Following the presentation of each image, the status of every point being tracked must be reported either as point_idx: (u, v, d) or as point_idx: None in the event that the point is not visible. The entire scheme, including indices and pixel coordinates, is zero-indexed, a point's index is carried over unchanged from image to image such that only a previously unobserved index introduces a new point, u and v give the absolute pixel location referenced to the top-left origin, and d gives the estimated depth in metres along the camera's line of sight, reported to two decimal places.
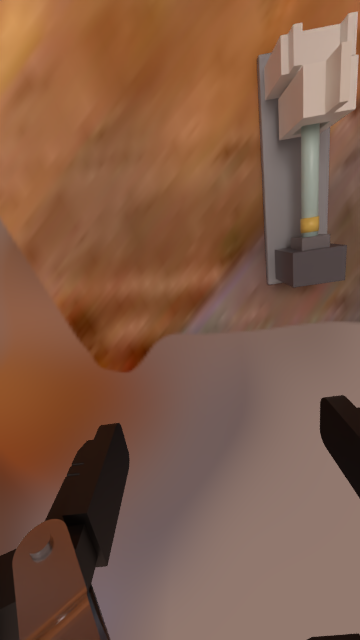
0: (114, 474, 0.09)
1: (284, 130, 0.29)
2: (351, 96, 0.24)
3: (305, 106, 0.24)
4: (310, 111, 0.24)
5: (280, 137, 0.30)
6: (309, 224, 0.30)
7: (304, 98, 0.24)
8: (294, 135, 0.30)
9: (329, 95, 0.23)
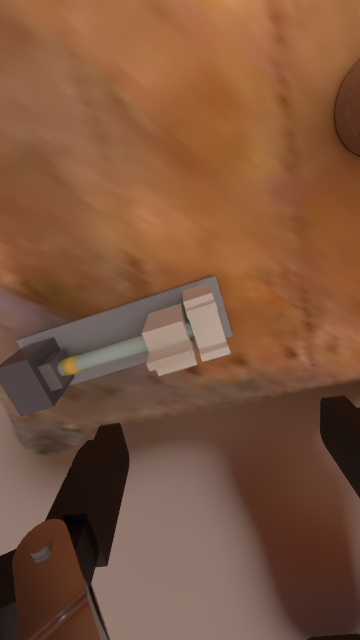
0: (114, 474, 0.09)
1: (151, 316, 0.29)
2: (166, 369, 0.26)
3: (150, 332, 0.24)
4: (148, 338, 0.25)
5: (149, 314, 0.30)
6: (68, 366, 0.29)
7: (157, 330, 0.24)
8: None
9: (159, 351, 0.24)
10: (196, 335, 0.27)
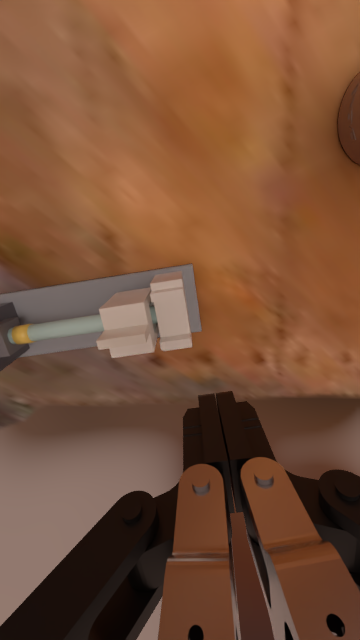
0: None
1: (116, 295, 0.27)
2: (121, 352, 0.24)
3: (108, 309, 0.23)
4: (105, 315, 0.23)
5: (116, 293, 0.28)
6: (19, 333, 0.27)
7: (115, 308, 0.23)
8: None
9: (115, 331, 0.23)
10: (159, 321, 0.26)
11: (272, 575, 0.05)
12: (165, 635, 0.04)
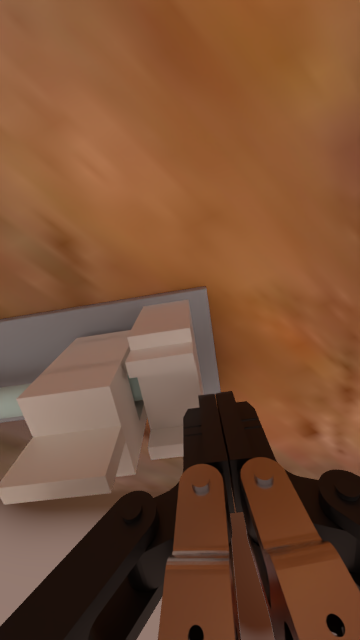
0: None
1: (72, 348, 0.15)
2: None
3: (36, 399, 0.11)
4: (31, 411, 0.11)
5: (76, 340, 0.16)
6: None
7: (51, 397, 0.11)
8: None
9: (49, 447, 0.11)
10: (148, 404, 0.14)
11: (272, 575, 0.05)
12: (165, 634, 0.04)
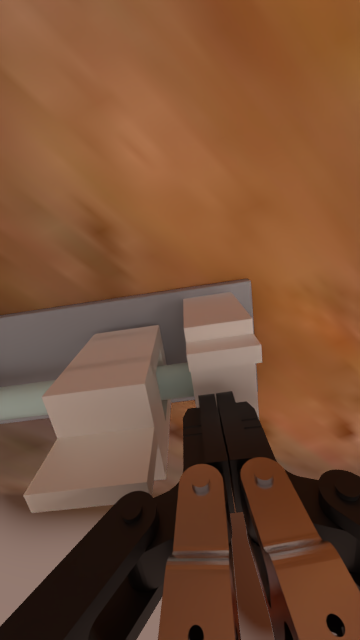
0: None
1: (93, 344, 0.14)
2: None
3: (64, 397, 0.10)
4: (57, 410, 0.10)
5: (95, 336, 0.16)
6: None
7: (80, 395, 0.10)
8: None
9: (78, 449, 0.10)
10: None
11: (272, 575, 0.05)
12: (165, 635, 0.04)
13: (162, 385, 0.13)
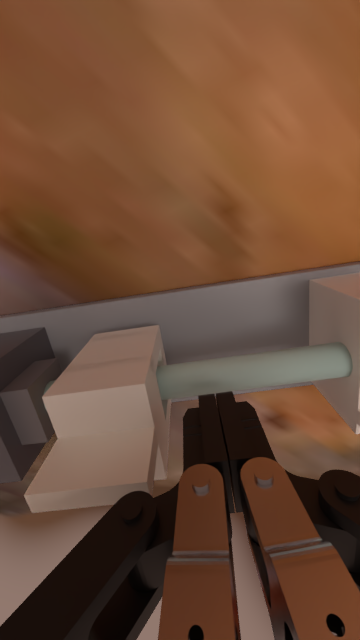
0: None
1: (93, 344, 0.14)
2: None
3: (64, 397, 0.10)
4: (57, 410, 0.10)
5: (95, 336, 0.16)
6: None
7: (80, 395, 0.10)
8: None
9: (78, 449, 0.10)
10: None
11: (272, 575, 0.05)
12: (165, 635, 0.04)
13: (319, 364, 0.13)
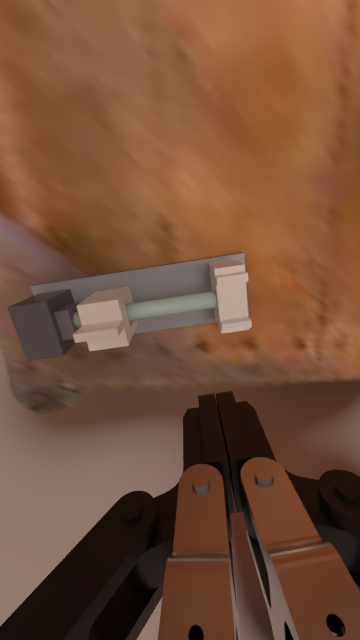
0: None
1: (96, 294, 0.29)
2: (98, 346, 0.26)
3: (85, 306, 0.25)
4: (82, 311, 0.25)
5: (96, 291, 0.30)
6: None
7: (92, 304, 0.25)
8: None
9: (91, 326, 0.25)
10: (220, 305, 0.27)
11: (272, 575, 0.05)
12: (165, 635, 0.04)
13: (202, 300, 0.28)
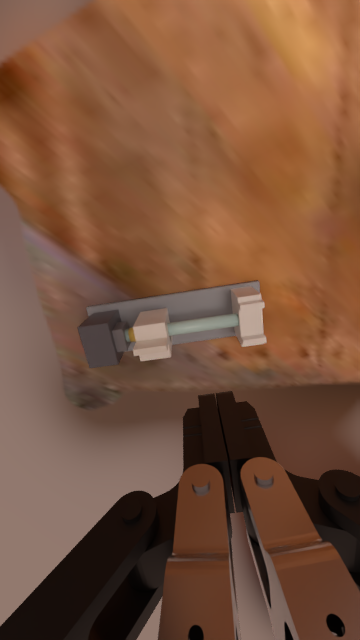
0: None
1: (141, 315, 0.37)
2: (147, 357, 0.34)
3: (139, 327, 0.32)
4: (137, 331, 0.33)
5: (141, 312, 0.38)
6: None
7: (144, 326, 0.32)
8: None
9: (144, 342, 0.32)
10: (241, 325, 0.35)
11: (272, 575, 0.05)
12: (165, 635, 0.04)
13: (227, 320, 0.35)
